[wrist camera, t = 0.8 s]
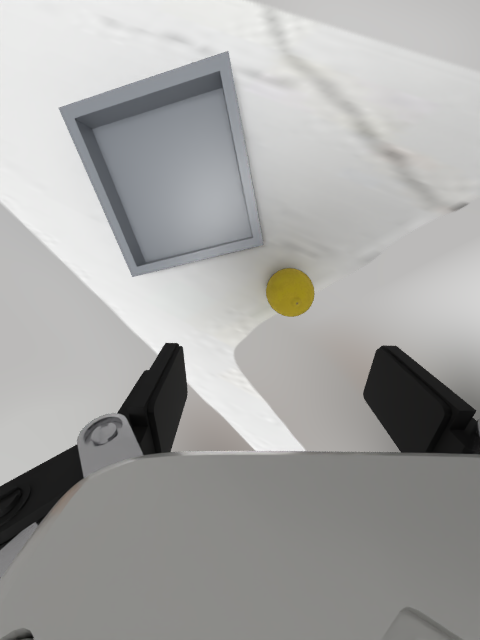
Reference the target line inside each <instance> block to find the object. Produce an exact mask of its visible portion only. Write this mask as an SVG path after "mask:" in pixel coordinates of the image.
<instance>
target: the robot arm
mask: <svg viewBox="0 0 480 640" xmlns="http://www.w3.org/2000/svg"><path fill="white" fill-rule="evenodd" d="M363 395H364V399H365V400H366V402H367V404H368V405H369V406H370V408H371V409H372V411H373V412H374V414H375V415H376V416H377V418H378V420H379V421H380V422H381V424H382V425H383V427H384V428H385V429H386V431H387V433H388V434H389V435H390V437H391V438H392V440H393V441H394V443H395V444H396V446H397V447H398V448H399V450H400V451H401V453H398V452H397V453H396V452H316V451H315V452H314V451H312V452H311V451H192V452H191V451H188V452H171V448H172V445H173V441H174V438H175V435H176V432H177V428H178V425H179V421H180V418H181V415H182V412H183V408H184V405H185V402H186V399H187V382H186V372H185V363H184V354H183V347H182V346H179V344H178V343H165V345H164V346H163V348H162V350H161V351H160V353H159V355H158V356H157V358H156V360H155V361H154V363H153V365H152V366H151V368H150V370H146V371H144V372H143V374H142V375H141V377H140V378H139V380H138V381H137V383H136V385H135V386H134V388H133V389H132V391H131V393H130V394H129V396H128V397H127V399H126V400H125V402H124V403H123V405H122V407H121V408H120V410H119V411H118V413H111V414H106V415H103V416H100V417H98V418H96V419H94V420H92V421H91V422H90V423H89V424H87V425H86V426H85V427H84V428H83V430H82V431H81V432H80V434H79V436H78V439H77V445H75V446H73V447H72V448H70V449H68V450H66V451H64V452H62V453H61V454H59V455H57V456H55V457H53V458H51V459H50V460H48V461H46V462H44V463H42V464H40V465H39V466H37V467H35V468H33V469H31V470H29V471H28V472H26V473H24V474H22V475H20V476H18V477H17V478H15V479H13V480H11V481H9V482H7V483H5V484H4V485H2V486H0V640H33V638H34V640H480V419H478V421H476V420H475V419H474V418H472V417H473V416H474V414H475V412H476V410H475V409H474V408H472V407H471V406H470V405H469V404H467V403H466V402H465V401H464V400H463V399H461V398H460V397H459V396H457V395H456V394H455V393H454V392H453V391H451V390H450V389H449V388H448V387H446V386H445V385H444V384H443V383H441V382H440V381H439V380H438V379H437V378H435V377H434V376H433V375H431V374H430V373H429V372H428V371H426V370H425V369H424V368H423V367H422V366H420V365H419V364H418V363H417V362H416V361H414V360H413V359H412V358H411V357H409V356H408V355H407V354H406V353H404V352H403V351H402V350H401V349H399V348H398V347H397V346H381V347H380V348H379V349H377V350H376V353H375V356H374V359H373V363H372V366H371V369H370V372H369V376H368V379H367V382H366V386H365V389H364V393H363Z"/></svg>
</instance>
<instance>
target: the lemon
mask: <svg viewBox="0 0 480 640" xmlns="http://www.w3.org/2000/svg"><path fill="white" fill-rule="evenodd" d="M266 296H267V299H268V302H269V304H270V305H271V307H272V308H273V309H274V310H275V311H276V312H278V313H279V314H282V315H284V316H289V317H294V316H298V315H300V314H303V313H304V312H306V311H307V310H308V309H309V307H310V306H311V304H312V302H313V300H314V287H313V284H312V282H311V280H310V279H309V277H308V276H307V275H306V274H305V273H303V272H302V271H300V270H297V269H292V268H287V269H282V270H280V271H278V272H276V273H275V274H274V275H273V276H272V277H271V278H270V280H269V282H268V284H267V288H266Z"/></svg>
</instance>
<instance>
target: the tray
mask: <svg viewBox="0 0 480 640" xmlns="http://www.w3.org/2000/svg"><path fill="white" fill-rule="evenodd" d="M59 110H60V112H61V114H62V117H63V119H64V121H65V124H66V126H67V128H68V130H69V133H70V135H71V137H72V140H73V142H74V144H75V146H76V149H77V151H78V153H79V156H80V158H81V160H82V162H83V165H84V167H85V169H86V172H87V174H88V176H89V178H90V181H91V183H92V185H93V188H94V190H95V192H96V194H97V197H98V199H99V201H100V204H101V206H102V208H103V211H104V213H105V215H106V217H107V220H108V222H109V224H110V227H111V229H112V231H113V233H114V236H115V238H116V240H117V243H118V245H119V247H120V249H121V252H122V254H123V256H124V259H125V261H126V263H127V265H128V268H129V270H130V272H131V275H132V277H134V276H138V275H142V274H146V273H150V272H155V271H159V270H163V269H167V268H171V267H175V266H179V265H183V264H187V263H191V262H196V261H200V260H204V259H208V258H212V257H216V256H220V255H224V254H228V253H232V252H237V251H241V250H245V249H249V248H253V247H257V246H261V245H263V239H262V234H261V228H260V223H259V217H258V212H257V206H256V201H255V195H254V190H253V184H252V179H251V173H250V168H249V162H248V157H247V151H246V146H245V140H244V135H243V129H242V124H241V118H240V113H239V107H238V102H237V97H236V91H235V86H234V80H233V75H232V69H231V64H230V58H229V53H228V51H227V52H224V53H221V54H218V55H215V56H212V57H209V58H206V59H203V60H200V61H197V62H194V63H191V64H188V65H185V66H182V67H179V68H176V69H173V70H170V71H167V72H164V73H161V74H158V75H155V76H152V77H149V78H146V79H143V80H140V81H137V82H134V83H131V84H128V85H125V86H122V87H119V88H116V89H113V90H110V91H107V92H104V93H101V94H99V95H96V96H93V97H90V98H87V99H84V100H81V101H78V102H75V103H72V104H69V105H66V106H63V107H60V108H59Z"/></svg>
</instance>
